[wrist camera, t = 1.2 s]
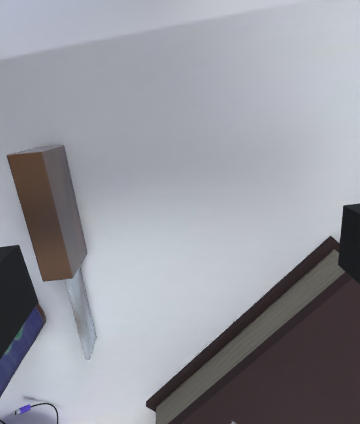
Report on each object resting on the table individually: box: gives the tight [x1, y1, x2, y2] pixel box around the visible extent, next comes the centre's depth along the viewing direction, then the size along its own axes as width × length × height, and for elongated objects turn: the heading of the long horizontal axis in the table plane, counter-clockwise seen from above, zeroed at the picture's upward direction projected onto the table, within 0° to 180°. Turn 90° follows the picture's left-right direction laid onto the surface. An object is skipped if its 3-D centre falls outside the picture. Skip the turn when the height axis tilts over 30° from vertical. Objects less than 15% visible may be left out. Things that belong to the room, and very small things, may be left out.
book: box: [146, 236, 360, 424], centre depth 30 cm, size 28×20×6 cm
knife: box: [7, 145, 96, 360], centre depth 24 cm, size 20×2×4 cm, turn 5°
